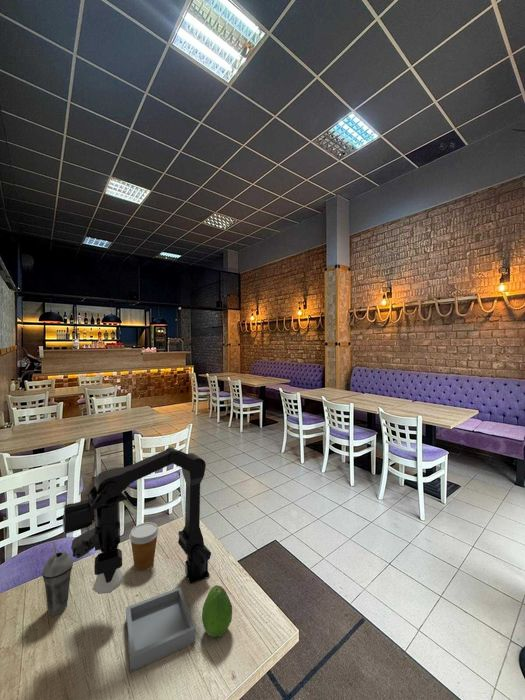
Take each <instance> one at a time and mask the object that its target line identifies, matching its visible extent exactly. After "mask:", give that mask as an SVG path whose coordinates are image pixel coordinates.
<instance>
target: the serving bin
mask: <svg viewBox="0 0 525 700" xmlns="http://www.w3.org/2000/svg"><path fill="white" fill-rule="evenodd" d="M125 621H126V624H125V625H126V632H127V633H126V635H127V636H126V637H127V646H128V647H127V648H128V655H129V667H130V670H129V671H130V673H133V672H135V671H137V670H139V669H142V668H144V667H146V666H148V665H151V664H152V663H154V662H156V661H158V660H160V659H162V658H165V657H166V656H167V657H168V656H169V655H171V654H173V653H175V652H177V651H179V650H182V649H184V648H185V647H188V646H190V645H192V644H194V643H195V641H196V633H195V632H196V628H195V625H194V622H193V618H192V616H191V612H190V609H189V606H188V603H187V600H186V597H185V595H184V591H183V588H182V586H179V587H177V588H176V587H175V588H174V589H170V590H168V591H165V592H163V593H161V594H158V595H156V596H155V595H154V596H152V597H149V598H146V599H144V600H141V601H139V602H136V603H133V604H131V605H128V606H126V607H125Z"/></svg>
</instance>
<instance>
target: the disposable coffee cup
mask: <svg viewBox="0 0 525 700" xmlns="http://www.w3.org/2000/svg"><path fill="white" fill-rule="evenodd" d="M159 532H160V529H159V528H158V525H157V523H154V522H151V521H149V522H143V523H140V524H137V525H135V526H134V527H133V528H132V529H131V531H130V534H129V540H130V544H131V551H132V558H133V565H134V566H133V567H134V569H135V570H136V571H139V572H141V571H146V570H149V569H150V568H152V567H153V565H154V563H155V555H156V546H157V542H158V541H157V539H158V534H159Z"/></svg>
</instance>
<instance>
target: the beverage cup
mask: <svg viewBox="0 0 525 700" xmlns="http://www.w3.org/2000/svg"><path fill="white" fill-rule="evenodd" d="M52 549H53V555H51V556H50V557H49V558H48V559H47V560H46V562H45V564H44V565H43V569H42V573H41V575H42V578H43V583H44V587H45V595H46V596H45V597H46V607H47V614H48V615H49V616H57V615H59V614H61V613H62V612H64V611H65V610H66V608H68V601H69V596H70V595H69V594H70V593H69V592H70V583H71V573H72V571H73V565H74V564H73V559H72V556H71V554H69V553H68V552H65V551H59V552H57V549H56V542H55V540H53V541H52Z"/></svg>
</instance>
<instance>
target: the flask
mask: <svg viewBox="0 0 525 700" xmlns="http://www.w3.org/2000/svg"><path fill="white" fill-rule="evenodd" d="M111 550H112V547H111ZM105 552H106V549H105ZM102 553H103V552H102ZM123 579H124V575H123V573H122V570H121V568H118V569H116V571H115V573H114V576H113V578H112V580H111V582H108V583H106V580H105V577H104V573H102V574H99V575H96V579H95V581H94V584H93V587H92V590H93V591H94V592H95V593H97V594H98V595H100V594H101V595H103V594H111V593H113V591H114V590H116V589H117V588H119V587H120V586H121V584H122V582H123Z"/></svg>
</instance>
